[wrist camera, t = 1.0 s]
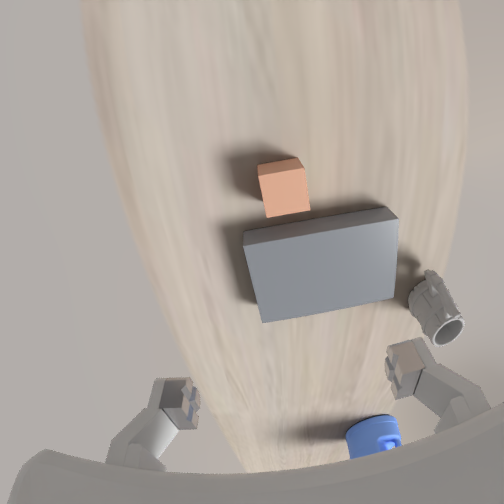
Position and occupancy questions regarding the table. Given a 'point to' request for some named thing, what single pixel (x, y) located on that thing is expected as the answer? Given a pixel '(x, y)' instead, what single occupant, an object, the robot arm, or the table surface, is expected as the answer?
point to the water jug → (373, 436)
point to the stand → (323, 263)
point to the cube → (283, 187)
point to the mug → (436, 310)
